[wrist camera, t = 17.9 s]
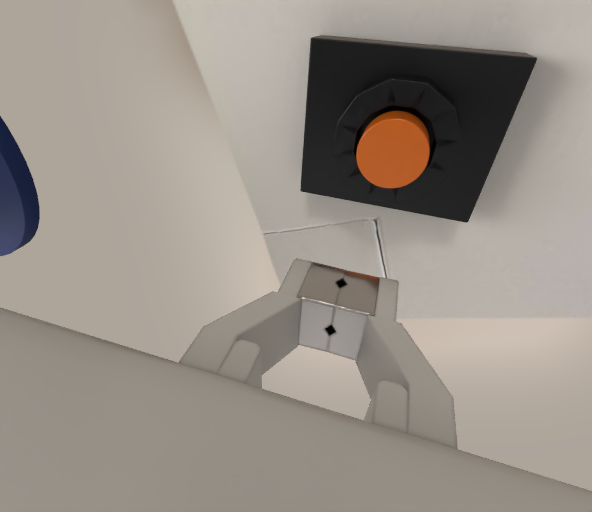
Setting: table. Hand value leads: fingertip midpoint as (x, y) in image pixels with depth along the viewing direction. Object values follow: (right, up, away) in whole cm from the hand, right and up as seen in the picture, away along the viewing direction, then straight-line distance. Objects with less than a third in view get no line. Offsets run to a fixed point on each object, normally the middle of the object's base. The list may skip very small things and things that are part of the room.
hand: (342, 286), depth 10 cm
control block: (+5, +9, +11) cm, 15 cm away
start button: (+4, +7, +8) cm, 12 cm away
